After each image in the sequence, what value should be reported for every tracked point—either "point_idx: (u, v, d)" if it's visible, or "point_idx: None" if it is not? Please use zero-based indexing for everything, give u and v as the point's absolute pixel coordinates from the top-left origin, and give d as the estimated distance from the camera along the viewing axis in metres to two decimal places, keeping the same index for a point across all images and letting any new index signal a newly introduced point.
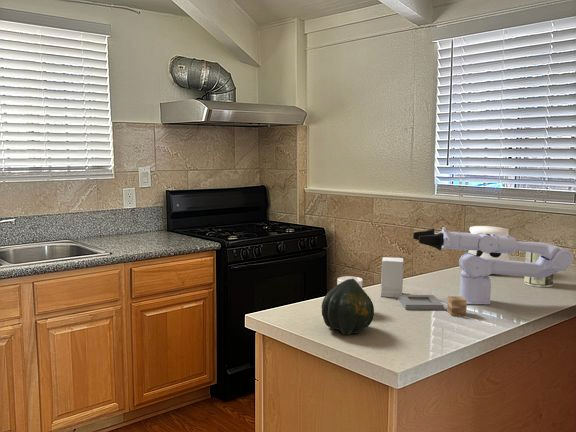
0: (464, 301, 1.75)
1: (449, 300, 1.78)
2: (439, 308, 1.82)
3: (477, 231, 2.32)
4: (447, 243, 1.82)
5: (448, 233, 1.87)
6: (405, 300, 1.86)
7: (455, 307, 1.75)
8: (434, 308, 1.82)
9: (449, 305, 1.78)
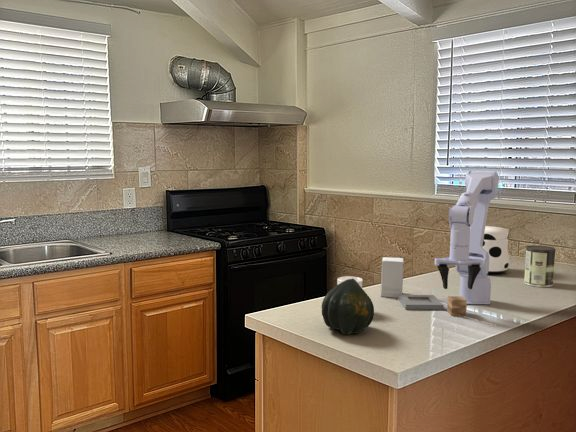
0: (464, 301, 1.75)
1: (449, 300, 1.78)
2: (439, 308, 1.82)
3: None
4: None
5: (466, 258, 1.73)
6: (405, 300, 1.86)
7: (455, 307, 1.75)
8: (434, 308, 1.82)
9: (449, 305, 1.78)
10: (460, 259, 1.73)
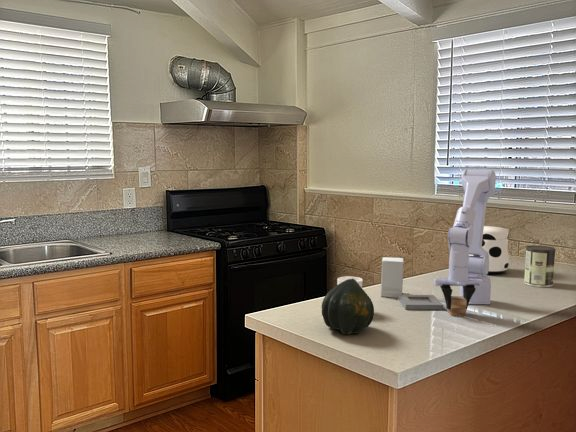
0: (464, 301, 1.75)
1: None
2: (439, 308, 1.82)
3: None
4: None
5: (465, 278, 1.74)
6: (405, 300, 1.86)
7: (455, 307, 1.75)
8: (434, 308, 1.82)
9: None
10: (459, 280, 1.74)
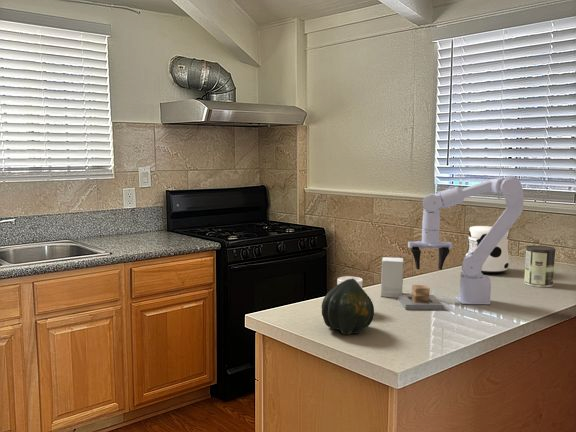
0: (427, 289, 1.84)
1: (413, 288, 1.87)
2: (439, 308, 1.82)
3: (477, 231, 2.32)
4: None
5: (436, 241, 1.92)
6: (405, 300, 1.86)
7: (419, 295, 1.85)
8: (434, 308, 1.82)
9: (413, 293, 1.87)
10: (431, 242, 1.91)
